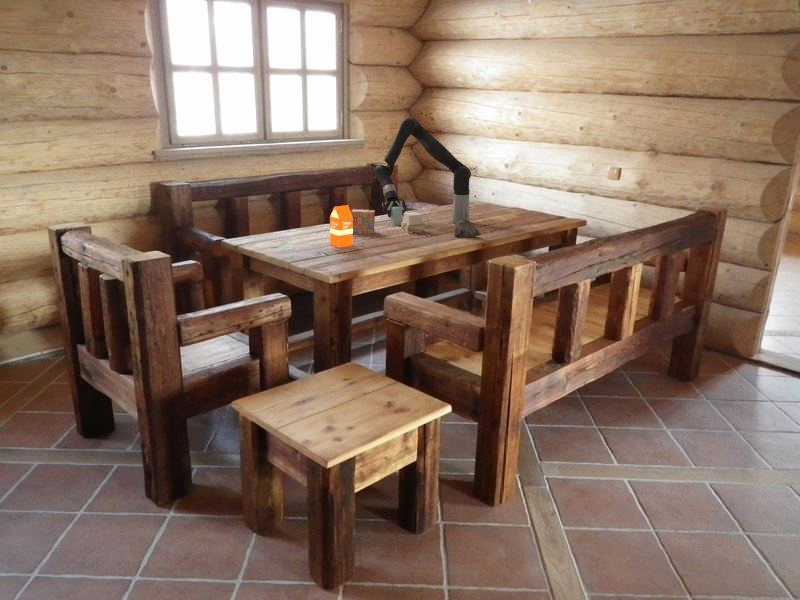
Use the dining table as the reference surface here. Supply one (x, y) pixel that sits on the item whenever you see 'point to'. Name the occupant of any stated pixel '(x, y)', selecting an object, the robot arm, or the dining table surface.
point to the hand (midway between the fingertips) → (397, 216)
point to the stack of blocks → (363, 221)
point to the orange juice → (341, 227)
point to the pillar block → (396, 215)
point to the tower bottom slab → (412, 227)
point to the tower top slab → (412, 218)
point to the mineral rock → (465, 229)
